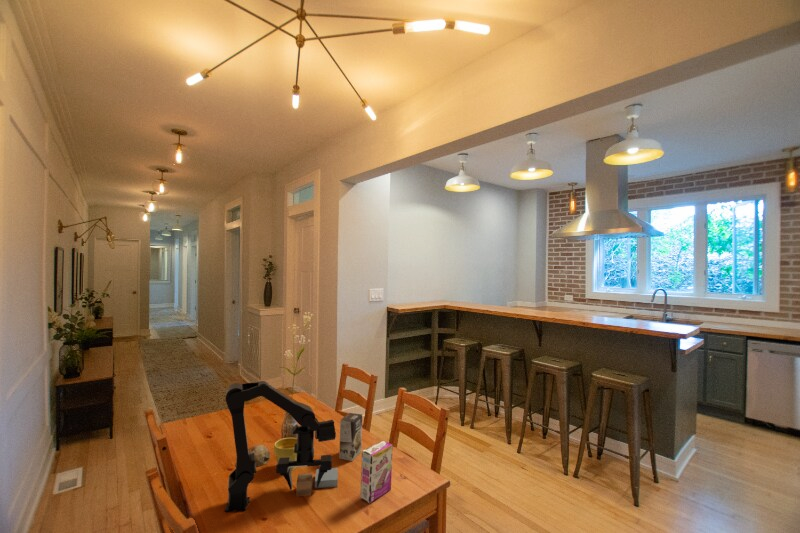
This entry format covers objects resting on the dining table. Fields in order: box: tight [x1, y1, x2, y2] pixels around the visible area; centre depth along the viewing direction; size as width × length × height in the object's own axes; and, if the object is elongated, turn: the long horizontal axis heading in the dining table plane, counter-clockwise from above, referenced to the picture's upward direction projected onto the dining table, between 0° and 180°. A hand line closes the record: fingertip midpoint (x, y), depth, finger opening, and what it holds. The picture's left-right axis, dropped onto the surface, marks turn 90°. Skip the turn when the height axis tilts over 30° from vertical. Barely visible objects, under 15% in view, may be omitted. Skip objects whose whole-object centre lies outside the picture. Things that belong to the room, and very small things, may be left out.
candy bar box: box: [360, 440, 393, 505], centre depth 130 cm, size 11×5×16 cm, turn 141°
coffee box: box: [338, 412, 363, 462], centre depth 157 cm, size 9×6×16 cm
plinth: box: [314, 467, 339, 489], centre depth 137 cm, size 8×8×2 cm
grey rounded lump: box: [248, 444, 271, 467], centre depth 151 cm, size 10×10×8 cm
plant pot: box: [273, 437, 297, 472], centre depth 146 cm, size 10×10×10 cm
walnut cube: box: [295, 472, 313, 497], centre depth 130 cm, size 5×5×5 cm
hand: (304, 488), depth 130 cm, fingers open, 9 cm apart
